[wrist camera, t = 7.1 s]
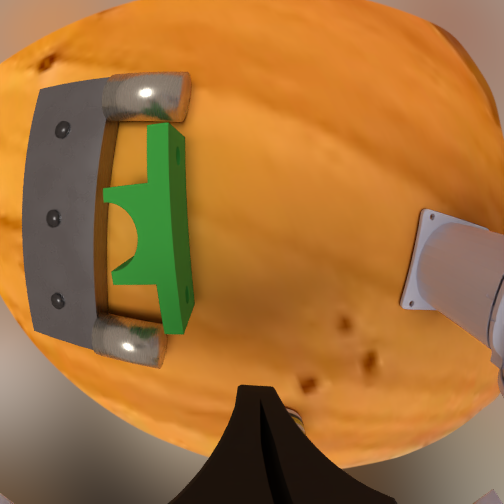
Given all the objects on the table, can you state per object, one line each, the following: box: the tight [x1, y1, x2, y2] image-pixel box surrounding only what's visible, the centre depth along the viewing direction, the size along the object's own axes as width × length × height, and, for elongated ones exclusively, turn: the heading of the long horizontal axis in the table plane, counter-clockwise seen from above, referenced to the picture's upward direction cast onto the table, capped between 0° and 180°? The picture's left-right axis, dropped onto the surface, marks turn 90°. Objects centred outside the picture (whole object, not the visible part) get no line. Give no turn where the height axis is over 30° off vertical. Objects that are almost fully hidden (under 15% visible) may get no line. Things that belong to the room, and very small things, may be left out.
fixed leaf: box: [22, 72, 191, 369], centre depth 15 cm, size 12×19×3 cm, turn 172°
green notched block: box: [103, 122, 195, 334], centre depth 15 cm, size 11×4×5 cm, turn 2°
